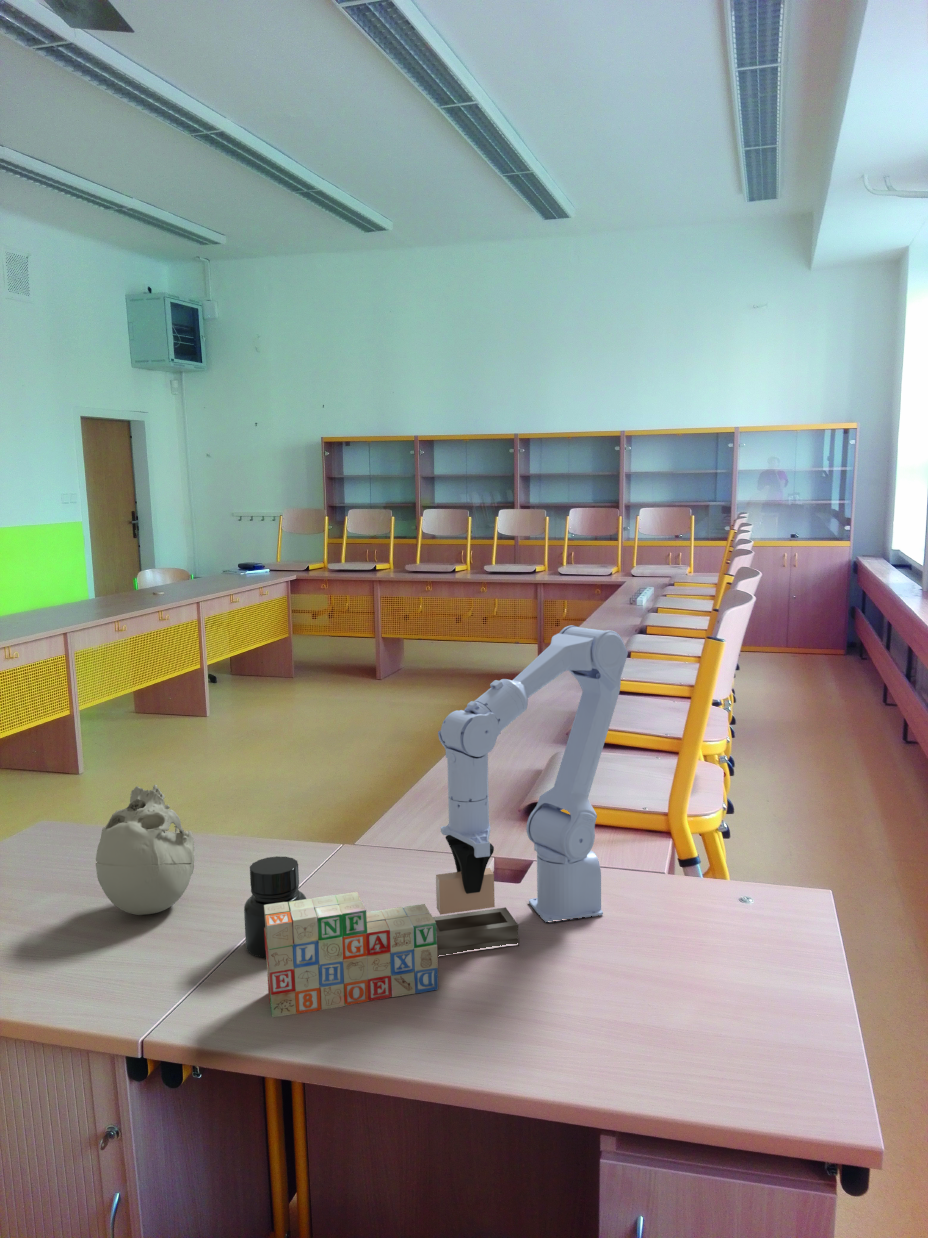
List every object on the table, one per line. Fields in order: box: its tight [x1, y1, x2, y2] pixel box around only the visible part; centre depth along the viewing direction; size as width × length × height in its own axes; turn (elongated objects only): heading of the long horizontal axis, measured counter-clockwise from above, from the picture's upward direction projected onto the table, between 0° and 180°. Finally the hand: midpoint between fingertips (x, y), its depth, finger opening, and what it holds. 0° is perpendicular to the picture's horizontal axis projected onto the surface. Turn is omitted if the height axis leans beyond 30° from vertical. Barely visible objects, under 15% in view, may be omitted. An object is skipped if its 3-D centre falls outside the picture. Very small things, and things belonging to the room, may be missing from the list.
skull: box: [95, 784, 195, 916], centre depth 141 cm, size 13×15×20 cm
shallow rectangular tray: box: [432, 907, 520, 956], centre depth 130 cm, size 12×6×3 cm, turn 105°
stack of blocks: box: [264, 891, 439, 1018], centre depth 117 cm, size 21×6×12 cm, turn 106°
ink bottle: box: [243, 856, 307, 958], centre depth 130 cm, size 10×9×12 cm
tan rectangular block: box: [435, 867, 496, 916], centre depth 129 cm, size 8×2×5 cm, turn 105°
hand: (470, 888), depth 129 cm, fingers closed on tan rectangular block, 2 cm apart
